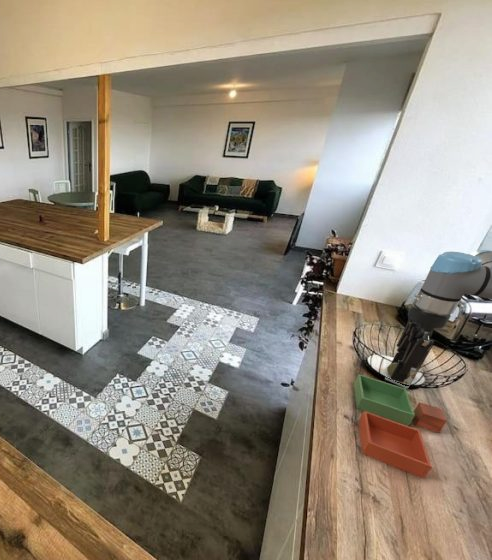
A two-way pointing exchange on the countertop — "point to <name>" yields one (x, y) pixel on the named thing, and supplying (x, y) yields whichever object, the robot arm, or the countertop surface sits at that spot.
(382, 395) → the green bin
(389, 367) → the lime
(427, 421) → the block
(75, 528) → the countertop surface
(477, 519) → the countertop surface
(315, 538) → the countertop surface
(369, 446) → the terracotta bin
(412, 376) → the coffee box
